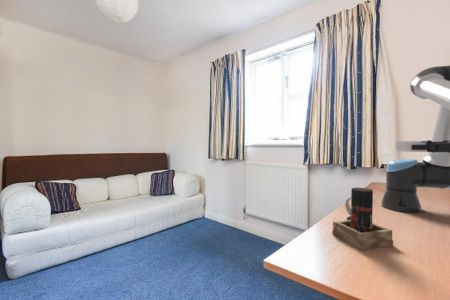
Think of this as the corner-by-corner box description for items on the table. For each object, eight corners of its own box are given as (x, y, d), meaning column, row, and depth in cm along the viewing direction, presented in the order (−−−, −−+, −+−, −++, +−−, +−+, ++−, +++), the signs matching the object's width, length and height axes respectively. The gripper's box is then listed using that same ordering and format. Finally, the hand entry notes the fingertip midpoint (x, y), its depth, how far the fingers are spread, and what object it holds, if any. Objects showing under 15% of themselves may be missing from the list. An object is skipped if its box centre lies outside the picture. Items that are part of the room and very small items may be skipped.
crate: (360, 230, 81) (360, 218, 81) (393, 245, 70) (393, 230, 70) (332, 234, 78) (332, 221, 78) (361, 250, 67) (361, 235, 67)
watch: (364, 230, 82) (364, 200, 81) (342, 224, 88) (342, 196, 88) (371, 227, 85) (371, 198, 84) (349, 221, 91) (349, 194, 91)
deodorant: (372, 240, 70) (373, 192, 69) (350, 236, 73) (351, 190, 73) (371, 233, 75) (372, 188, 74) (351, 230, 78) (351, 187, 78)
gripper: (512, 165, 52) (397, 160, 65) (477, 156, 73) (394, 154, 85) (514, 132, 52) (398, 134, 64) (478, 133, 72) (395, 134, 84)
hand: (396, 145), depth 75 cm, fingers open, 13 cm apart
